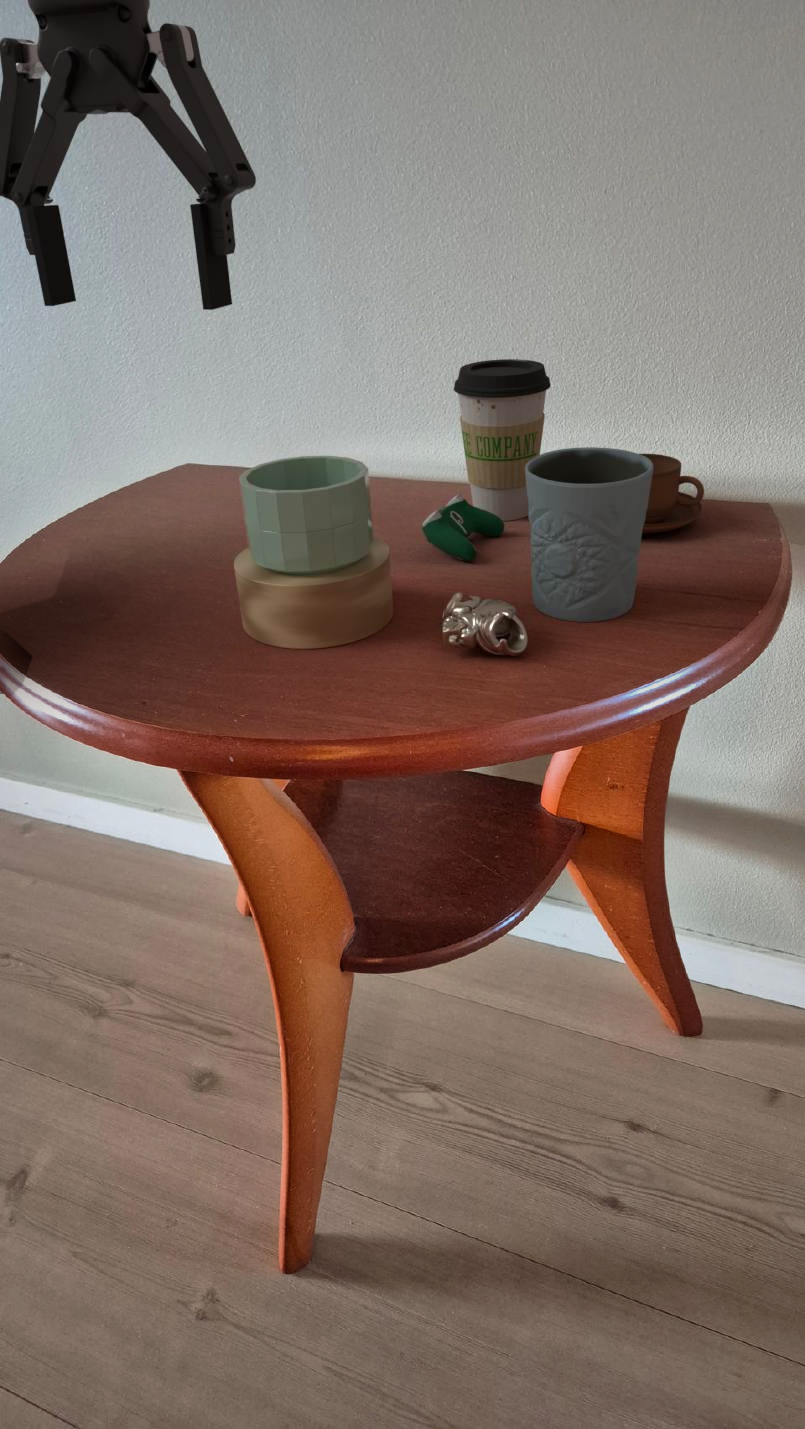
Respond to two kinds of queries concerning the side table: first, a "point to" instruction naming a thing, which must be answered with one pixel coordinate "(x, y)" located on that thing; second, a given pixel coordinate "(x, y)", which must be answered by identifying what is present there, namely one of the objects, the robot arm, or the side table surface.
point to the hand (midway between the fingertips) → (136, 306)
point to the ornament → (483, 626)
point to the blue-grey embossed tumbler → (586, 530)
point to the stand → (315, 601)
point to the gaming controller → (460, 527)
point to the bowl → (307, 513)
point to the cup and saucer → (670, 496)
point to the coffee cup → (501, 430)
